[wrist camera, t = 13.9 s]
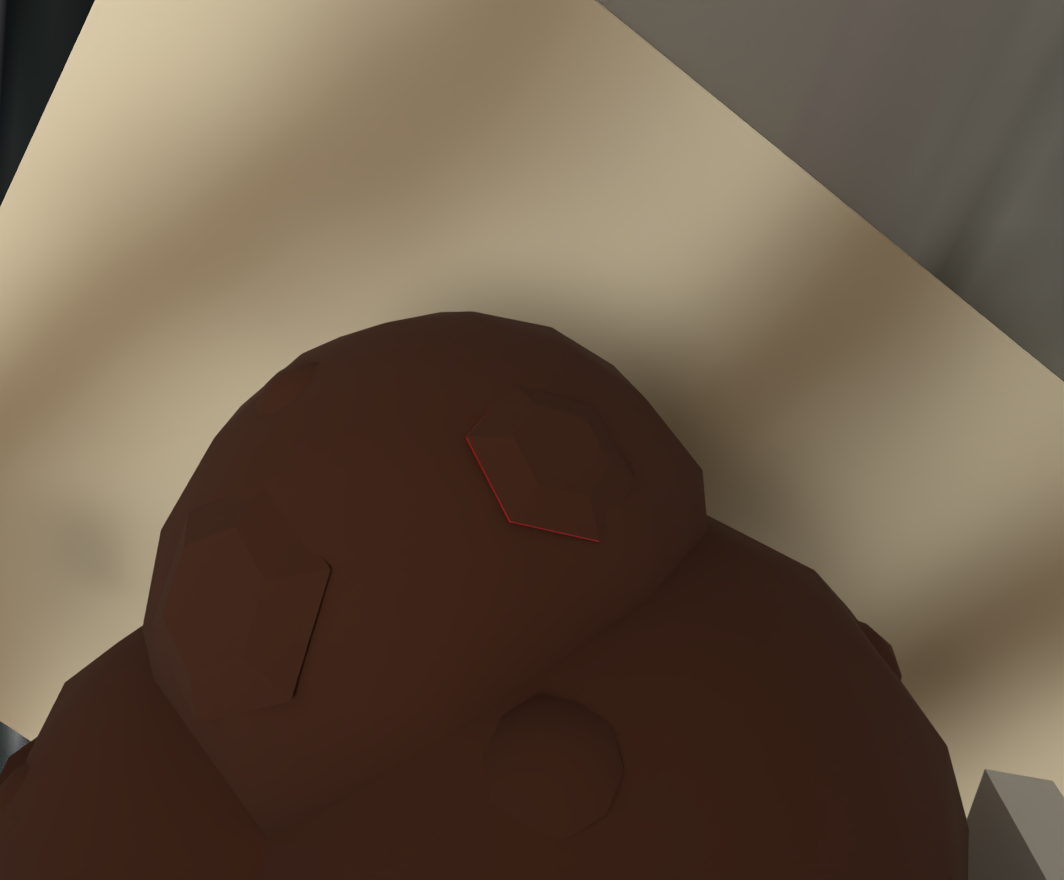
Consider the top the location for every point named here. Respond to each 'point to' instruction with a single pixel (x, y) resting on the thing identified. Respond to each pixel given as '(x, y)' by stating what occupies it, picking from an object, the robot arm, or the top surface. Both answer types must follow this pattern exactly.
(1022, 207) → the top surface
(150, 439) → the birch pad
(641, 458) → the chocolate ice cream sundae
